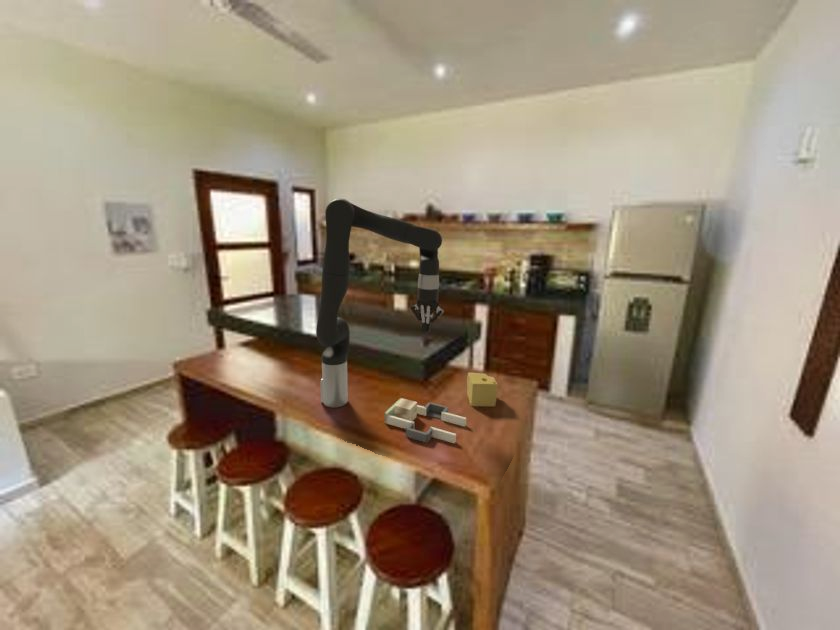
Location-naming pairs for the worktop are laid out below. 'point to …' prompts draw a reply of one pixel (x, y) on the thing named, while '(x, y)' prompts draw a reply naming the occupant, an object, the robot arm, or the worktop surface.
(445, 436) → the trap box
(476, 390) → the cheese
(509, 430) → the worktop surface
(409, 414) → the birch block
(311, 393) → the worktop surface
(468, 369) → the worktop surface
